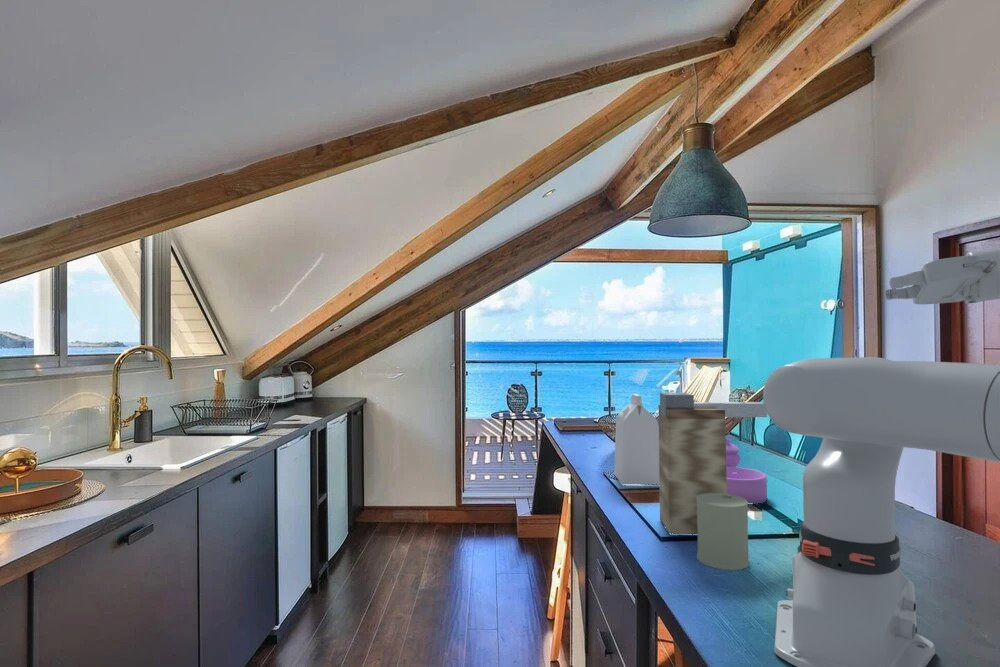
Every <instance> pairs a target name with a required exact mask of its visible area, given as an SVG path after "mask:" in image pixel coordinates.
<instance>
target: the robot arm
mask: <svg viewBox="0 0 1000 667" xmlns="http://www.w3.org/2000/svg"><path fill="white" fill-rule="evenodd" d="M889 286H890V288H889V289H886V290H885V292H884V296H885V300H887V301H890V300H896V299H897V300H911V299H912V302H913V303H912V304H915V305H936V304H947V303H948V304H950V303H951V304H952V303H959V302H964V303H965V304H967V305H969V304H975V303H980V302H987V301H992V300H1000V247H995V248H994V247H993V248H987V249H983V250H975V251H971V252H967V253H966V255H963V256H962V255H961V256H955V257H947V258H946V257H945V258H940V259H933V260H930V261H928V262H927V261H926V262H925V263H924V264H923V267H922V268H921V270H918V271H913V272H911V273H907V274H903V275H901V276H894V277H891V278H890V279H889ZM762 399H763V400H762V402H763V403H764V406H765V409H766V412H767V416H768V417H769V418H770V420H771V421H772V422H773V423H774V425H776V426H777V427H778V428H779V429H781V430H782V431H785V432H788V433H790V434H791V433H792V434H796V435H801V436H807V437H815V438H822V440H821V444H820V447H819V449H818V451H817V452H816V455H815V456H814V457H813V458H812V459H811V460H810V461H809V462H808V463H807V465H806V466H805V468H804V470H803V473H802V501H803V502H802V503H803V508H802V509H803V521H802V522H800V523H801V524H800V530H799V533H798V534H799V546H800V551H801V552H798V553H796V554H795V555H792V559H791V560H792V588H787V589H786V590H785V594H786V595H785V596H786V598H787V600H785V599H784V600H779V601H777V604H776V605H777V606H776V617H775V618H776V619H775V632H774V633H775V634H774V635H775V637H774V654H775V655H777V656H778V657H779V658H780V659H782V660H784V661H786V662H787V663H789V664H791V665H793V666H795V667H927V666H928V664H929V662H931V660H932V658H933V657H934V655H936V649H935V644H934V643H933V642H932V641H931V640H930V639H928V638H926V637H925V636H922V635H920V634H918V629H917V628H918V627H917V614H916V610H917V604H916V594H915V593H916V592H915V584H914V583H913V582H912V580H910V579H909V578H908V577H907V576H906V575H905V574H904V573H903V572H902V570H901V569H900V566H901V565H900V564H901V554H902V551H901V550H902V549H901V546H900V539H899V537H898V536H897V534H896V482H897V480H896V479H897V474H898V470H899V466H900V460H901V458H902V455H903V451H904V448H906V449H907V448H909V449H919V450H925V451H933V452H939V453H945V454H949V455H955V456H961V457H967V458H970V459H971V458H972V459H973V458H974V459H978V460H983V461H989V462H995V463H1000V364H996V363H993V364H992V363H991V364H990V363H977V362H976V363H971V362H954V361H953V362H951V361H924V360H923V361H920V360H919V361H915V360H913V361H911V360H908V361H907V360H891V359H886V358H882V357H879V356H878V357H877V356H874V357H873V356H869V357H868V356H865V357H858V356H857V357H824V358H823V357H822V358H821V357H820V358H818V357H816V358H814V357H813V358H806V359H805V358H804V359H801V360H798V361H794V362H791V363H788V364H785V365H782V366H779V367H777V368H776V369H774V370H773V371H772V372H771V373H770V374H769V375H768V376H767V379H766V381H765V383H764V387H763V392H762ZM788 599H789V600H788Z"/></svg>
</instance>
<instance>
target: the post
mask: <svg viewBox="0 0 1000 667" xmlns="http://www.w3.org/2000/svg"><path fill="white" fill-rule="evenodd" d="M658 425H659V482H660V486H659V521H660V520H661V521H660V523H661V524H662V523H663V524H664V526H665V527H666V529H667V530H668V532H669V533H671V534H672V533H673V534H692V535H693V534H698V526H697V499H696V497H697V496H698V495H700V494H705V493H723V494H727V485H726V439H727V437H726V436H727V434H726V417H725V410H724V409H666V417H664V416H662V415H661V414H660V404H658ZM663 524H662V525H663ZM664 526H663V527H664ZM665 527H664V528H665ZM666 529H665V530H666ZM667 530H666V531H667ZM668 532H667V533H668ZM669 533H668V534H669Z"/></svg>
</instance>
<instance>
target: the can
mask: <svg viewBox="0 0 1000 667" xmlns="http://www.w3.org/2000/svg"><path fill="white" fill-rule="evenodd" d="M696 499H697V526H698V536H697V554H696V559H697V560H698V561H699V562H700V563H702V564H703V565H705V566H708V567H710V568H713V569H719V570H723V571H725V570H726V571H740V570H744V569H747V568H748V567H749V566H750V564H751V563H750V558H749V532H748V531H749V529H748V527H749V525H748V522H749V520H748V519H749V517H748V507H749V505H748V501H747V500H745V499H744V498H741V497H738V496H735V495H730V494H723V493H705V494H700V495H698V496H697V497H696Z"/></svg>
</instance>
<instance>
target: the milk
mask: <svg viewBox="0 0 1000 667" xmlns="http://www.w3.org/2000/svg"><path fill="white" fill-rule="evenodd" d="M614 436H615V439H614V440H615V441H614V474H613V475H615V476H616V477H617V478H618V479H619V480H620V482H621V483H622V484H660V482H659V421H658V420H657V418H656V417H654V415H652V414H651V412H649V410H647V408H645V407H644V405H643V403H642V395H640V394H637V393H632V394H631V399H630V403H629V404H627V405H625V406H624V407H623V408H622V409H621V411H620V412H619V413H618V415H617V416H616V418H615V435H614ZM615 476H614V477H615ZM616 477H615V478H616ZM620 482H619V483H620Z"/></svg>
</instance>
